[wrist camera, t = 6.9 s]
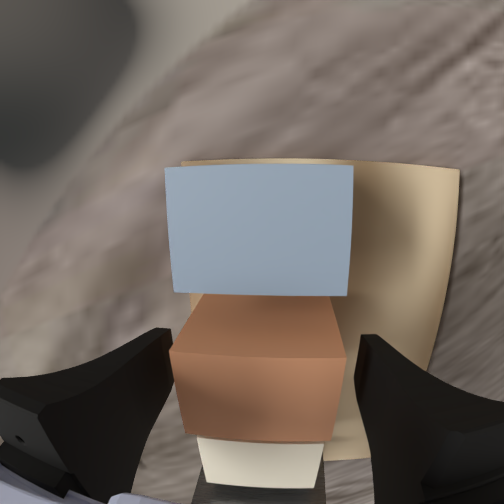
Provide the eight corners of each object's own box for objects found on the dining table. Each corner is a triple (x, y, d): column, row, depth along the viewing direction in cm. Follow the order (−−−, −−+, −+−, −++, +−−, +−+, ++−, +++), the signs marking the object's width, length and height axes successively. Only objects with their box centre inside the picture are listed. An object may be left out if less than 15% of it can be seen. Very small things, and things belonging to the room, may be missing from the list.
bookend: (321, 436, 16) (326, 514, 11) (317, 458, 17) (319, 530, 11) (211, 432, 17) (190, 506, 11) (215, 454, 17) (197, 523, 12)
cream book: (317, 376, 15) (324, 443, 10) (311, 424, 16) (313, 488, 11) (217, 373, 15) (196, 437, 11) (222, 421, 16) (206, 482, 12)
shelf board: (453, 169, 12) (459, 169, 11) (392, 448, 17) (394, 454, 16) (185, 161, 13) (181, 161, 13) (213, 449, 18) (211, 456, 17)
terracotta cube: (325, 284, 13) (346, 357, 8) (319, 354, 14) (330, 440, 9) (210, 282, 14) (169, 350, 9) (215, 351, 15) (185, 433, 10)
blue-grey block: (330, 164, 12) (353, 165, 8) (327, 252, 13) (347, 295, 9) (204, 165, 13) (164, 167, 8) (208, 250, 14) (173, 292, 9)
